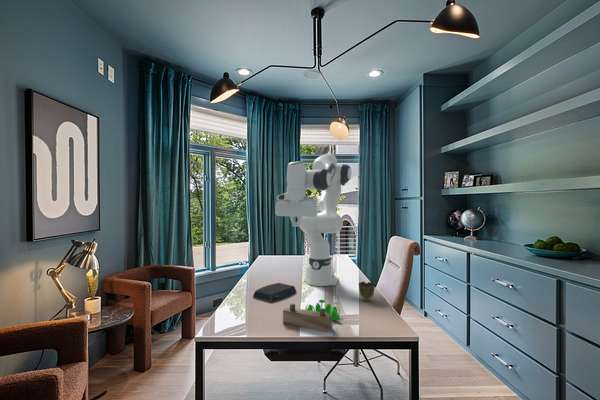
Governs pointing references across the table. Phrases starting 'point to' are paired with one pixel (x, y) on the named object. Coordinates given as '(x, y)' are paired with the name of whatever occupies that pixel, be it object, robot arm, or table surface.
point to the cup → (366, 290)
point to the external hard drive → (274, 292)
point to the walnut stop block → (307, 318)
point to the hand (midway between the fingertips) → (295, 226)
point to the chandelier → (327, 309)
